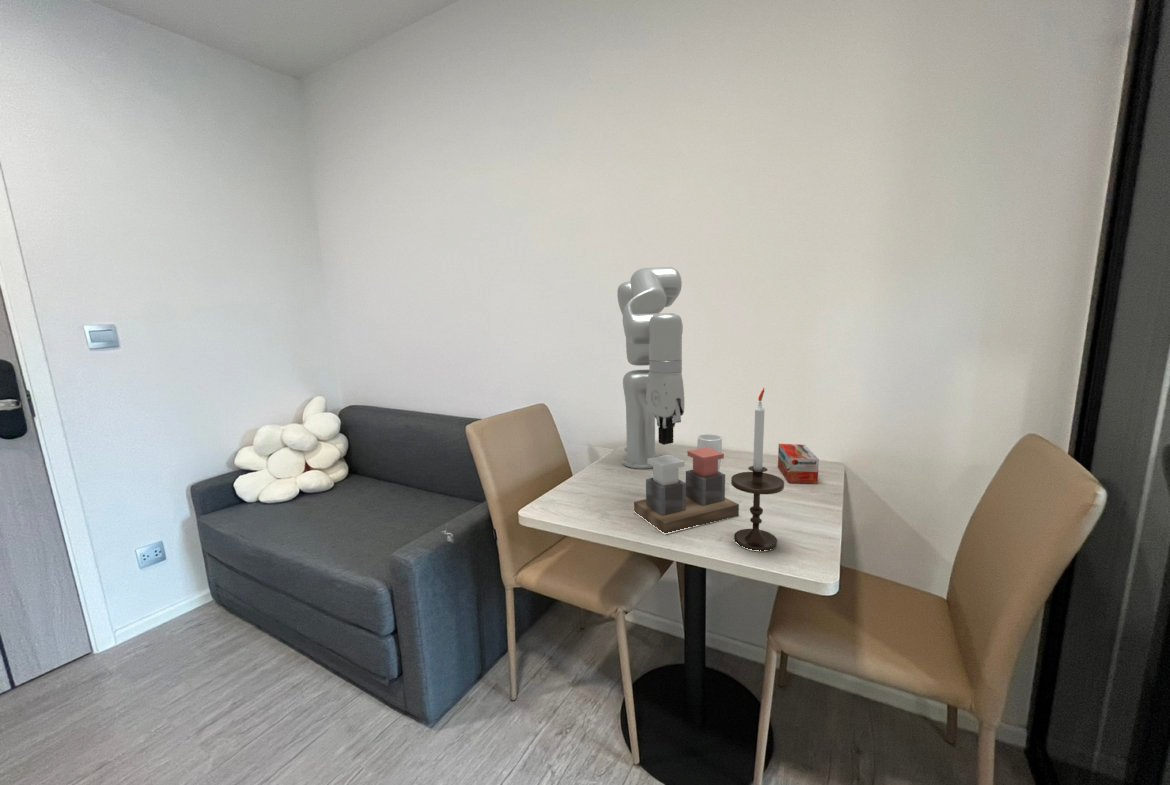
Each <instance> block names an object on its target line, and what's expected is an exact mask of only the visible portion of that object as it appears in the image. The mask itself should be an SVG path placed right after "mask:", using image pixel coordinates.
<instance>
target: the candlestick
mask: <svg viewBox="0 0 1170 785" xmlns="http://www.w3.org/2000/svg"><path fill="white" fill-rule="evenodd" d="M764 393H765V387H763V388H762V390H761V392H760V393H759V396H758V404H757V407H755V408H754V429H753V430H754V431H753V432H754V435H753V465H752V466H748V467H747V469H748V470H749V471H743V472H738V473H735V474H733V475H732V476H731V480H730V483H731V486H732V487H733V488H734V489H736V490H739V491H741V492H744V493H748V494H753V504H752V506H751V507H750V508H749V512H750V514H751V515H752V517H750V519H749V521H750V522H751V523H752V528H743V529H740V530H737V531H736V532H735V533H734V534H733V539H734V540H735V541H734V543H735V542H737V543H738V544H739V545H740V546H743V547H745V548H748V549H752V550H759V551H760V550H761V551H764V550H770V549H773V548H775V547H776V546H778V538H777V537H776V536H775V535H774V534H772V533H771V532H768V531H766V530H763V529H760V524H762V522H763V520H762V519H761V516H762V514H764V509H763V508H762V507H761V495H774V494H778V493H782V491H784V489H785V481H784V480H783V479H782V478H781V477H779V476H778V475H775V474H770V473H768V468H767V467H765V466H764V465H763V461H764V460H763V459H764V434H765V433H764V431H765V430H764V429H765V407H763V404H762V400H763V397H764ZM766 472H767V473H766ZM740 546H739V547H740ZM776 548H777V547H776ZM776 548H775V549H776ZM773 550H774V549H773Z"/></svg>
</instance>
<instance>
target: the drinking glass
mask: <svg viewBox="0 0 1170 785" xmlns="http://www.w3.org/2000/svg"><path fill="white" fill-rule="evenodd" d="M722 440H723V439H722V436H720V435H718V434H714V433H713V434H712V433H703V434H700V435H698V436H697V448H696V449H702V448H707V447H708V448H710V449H713V450H715V451H718V452H721V453H723V450H722V448H723V441H722ZM721 460H722V459H718V471H719V472H720V470H721Z"/></svg>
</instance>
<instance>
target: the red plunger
mask: <svg viewBox="0 0 1170 785" xmlns="http://www.w3.org/2000/svg"><path fill="white" fill-rule="evenodd" d="M686 454H687V457H690V458H691V459H692V470H693V473H695V474H697V475H699V476H702V477H708V476H713V475H717V474H718V459H721V460H723V459H724V458H725V453H723V452H722V453H721V452H718V451H715V450H713V449H710V448H708V447H707V448H702V449H697V448H696V449H692V450H687V453H686Z"/></svg>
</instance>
